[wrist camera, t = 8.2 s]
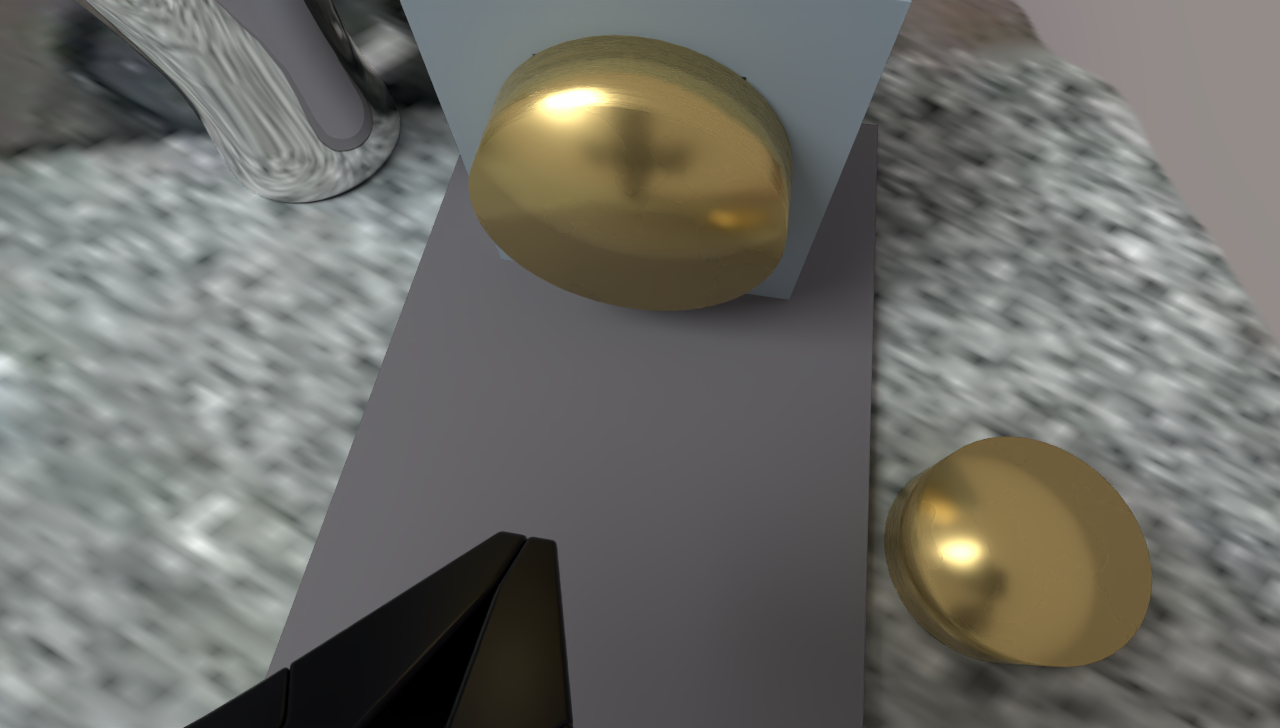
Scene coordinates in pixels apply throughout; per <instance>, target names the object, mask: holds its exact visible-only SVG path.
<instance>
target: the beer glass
mask: <svg viewBox="0 0 1280 728" xmlns="http://www.w3.org/2000/svg"><path fill="white" fill-rule="evenodd" d="M76 1H77V2H78V3H79V4H80V5H81V6H83V7H84V8H85V9H86V10H87V11H89V12H90V13H91V14H92V15H93V16H95V17H96V18H97V19H98V20H99V21H101V22H102V23H103V24H104V25H105V26H107V27H108V28H109V29H110V30H111V31H113V32H114V33H115V34H116V35H117V36H119V37H120V38H121V39H122V40H123V41H124V42H126V43H127V44H128V45H129V46H130V47H131V48H132V49H134V50H135V51H136V52H137V53H138V54H139V55H140V56H142V57H143V58H144V59H145V60H146V61H147V62H148V63H150V64H151V65H152V66H153V67H154V68H155V69H156V70H158V71H159V72H160V74H161V75H162V76H163V77H164V78H165V79H166V80H167V81H168V82H169V83H170V84H171V85H172V86H173V87H174V88H175V89H176V90H177V91H178V92H179V93H180V94H181V96H182V97H183V98H184V99H185V101H186V102H187V103H188V104H189V106H190V107H191V108H192V109H193V111H194V112H195V114H196V115H197V117H198V118H199V120H200V121H201V123H202V124H203V126H204V127H205V129H206V131H207V133H208V134H209V136H210V138H211V139H212V141H213V143H214V145H215V147H216V148H217V150H218V152H219V154H220V155H221V157H222V159H223V160H224V162H225V164H226V165H227V167H228V168H229V170H230V171H231V173H232V174H233V175H234V176H235V178H236V179H237V180H238V181H239V182H240V183H241V184H243V185H244V186H245V187H246V188H248V189H249V190H251V191H252V192H254V193H256V194H258V195H260V196H262V197H265V198H267V199H271V200H275V201H281V202H292V203H299V202H311V201H317V200H322V199H326V198H330V197H333V196H336V195H339V194H341V193H344V192H346V191H348V190H350V189H352V188H354V187H356V186H357V185H359V184H361V183H362V182H364V181H365V180H366V179H368V178H369V177H370V176H372V175H373V174H374V173H375V172H376V171H377V170H378V169H379V168H380V167H381V166H382V165H383V164H384V163H385V161H386V160H387V159H388V157H389V156H390V154H391V153H392V151H393V149H394V147H395V145H396V143H397V140H398V136H399V132H400V115H399V111H398V107H397V104H396V102H395V100H394V98H393V96H392V94H391V93H390V91H389V90H388V88H387V87H386V85H385V84H384V82H383V81H382V80H381V78H380V77H379V75H378V74H377V73H376V71H375V70H374V69H373V68H372V66H371V65H370V64H369V62H368V61H367V60H366V58H365V57H364V56H363V54H362V53H361V52H360V50H359V49H358V47H357V45H356V44H355V42H354V41H353V39H352V38H351V36H350V34H349V32H348V30H347V29H346V27H345V25H344V23H343V21H342V19H341V17H340V15H339V12H338V10H337V7H336V5H335V3H334V0H76Z"/></svg>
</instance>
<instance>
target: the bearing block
mask: <svg viewBox="0 0 1280 728" xmlns="http://www.w3.org/2000/svg"><path fill="white" fill-rule="evenodd" d="M400 2H401V4H402V7H403V9H404V12H405V14H406V17H407V20H408V22H409V25H410V27H411V30H412V32H413V35H414V37H415V40H416V43H417V45H418V48H419V50H420V53H421V55H422V58H423V61H424V63H425V66H426V68H427V71H428V73H429V76H430V78H431V81H432V84H433V86H434V89H435V91H436V94H437V96H438V99H439V101H440V104H441V107H442V109H443V112H444V114H445V117H446V119H447V122H448V124H449V127H450V130H451V132H452V135H453V137H454V140H455V142H456V145H457V147H458V150H459V153H460V155H461V158H462V160H463V163H464V165H465V168H466V170H467V173H468V176H469V175H470V170H471V167H472V164H473V161H474V158H475V156H476V153H477V150H478V147H479V144H480V142H481V139H482V136H483V133H484V130H485V128H486V125H487V122H488V119H489V116H490V114H491V111H492V108H493V105H494V103H495V100H496V97H497V94H498V92H499V91H500V89H501V87H502V86H503V84H504V82H505V80H506V79H507V78H508V77H509V76H510V75H511V74H512V73H513V71H514V70H515V69H516V68H517V67H518V66H520V65H521V64H522V63H524V62H525V61H526V60H527V59H529V58H530V57H532V56H534V55H535V54H537V53H539V52H541V51H543V50H545V49H546V48H549V47H552V46H555V45H557V44H560V43H563V42H566V41H570V40H575V39H580V38H585V37H591V36H605V35H622V36H638V37H644V38H650V39H656V40H662V41H665V42H669V43H672V44H676V45H679V46H683V47H686V48H688V49H691V50H693V51H696V52H698V53H700V54H703V55H705V56H708V57H710V58H711V59H713V60H715V61H717V62H718V63H720V64H722V65H724V66H726V67H727V68H729V69H731V70H732V71H733V72H735V73H736V74H737V75H739V76H740V77H741V78H743V79H744V80H746V81H747V82H748V83H749V84H750V85H751V86H752V87H753V88H754V89H755V90H757V91H758V92H759V93H760V94H761V95H762V96H763V97H764V99H765V100H766V101H767V102H768V104H769V105H770V106H771V107H772V109H773V110H774V111H775V113H776V114H777V116H778V118H779V120H780V121H781V123H782V125H783V127H784V129H785V131H786V134H787V137H788V139H789V142H790V146H791V152H792V157H793V175H792V186H791V197H790V207H789V218H788V229H787V239H786V244H785V249H784V253H783V255H782V257H781V260H780V262H779V264H778V265H777V267H776V268H775V269H774V271H773V272H772V273H771V275H770V276H769V277H768V278H767V279H765V280H764V281H763V282H762V283H761V284H760V285H758V286H757V287H755V288H754V289H753V290H751V291H749V292H748V293H746V294H752V295H759V296H766V297H773V298H780V299H788V300H789V299H790V297H791V294H792V292H793V289H794V287H795V284H796V282H797V279H798V277H799V275H800V272H801V270H802V267H803V265H804V262H805V260H806V258H807V255H808V253H809V250H810V248H811V245H812V243H813V240H814V238H815V236H816V233H817V231H818V228H819V226H820V223H821V221H822V219H823V216H824V214H825V211H826V209H827V206H828V204H829V201H830V199H831V197H832V194H833V192H834V189H835V187H836V184H837V182H838V180H839V177H840V175H841V172H842V170H843V167H844V165H845V162H846V160H847V158H848V155H849V153H850V150H851V148H852V145H853V143H854V141H855V138H856V136H857V133H858V131H859V128H860V126H861V123H862V121H863V119H864V116H865V114H866V111H867V109H868V106H869V104H870V101H871V99H872V97H873V94H874V92H875V89H876V87H877V84H878V82H879V80H880V77H881V75H882V72H883V70H884V67H885V65H886V62H887V60H888V58H889V55H890V53H891V50H892V48H893V45H894V43H895V41H896V38H897V36H898V33H899V31H900V28H901V26H902V23H903V21H904V19H905V16H906V14H907V11H908V9H909V6H910V4H911V0H400ZM495 245H496V243H495ZM496 247H497V250H498V252H499V255H500V257H501V259H504V260H511V261H514V260H513V259H511V258H510V257H509V256H508V255H507V254H506V253H505V252H504V251H503V250H501V249H500V248H499V247H498V246H497V245H496Z"/></svg>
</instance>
